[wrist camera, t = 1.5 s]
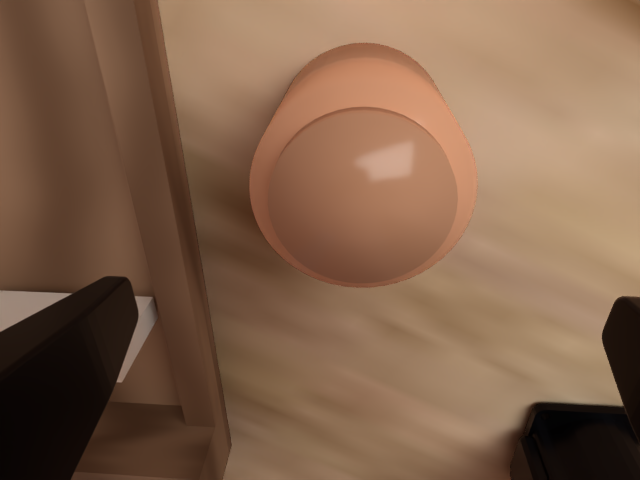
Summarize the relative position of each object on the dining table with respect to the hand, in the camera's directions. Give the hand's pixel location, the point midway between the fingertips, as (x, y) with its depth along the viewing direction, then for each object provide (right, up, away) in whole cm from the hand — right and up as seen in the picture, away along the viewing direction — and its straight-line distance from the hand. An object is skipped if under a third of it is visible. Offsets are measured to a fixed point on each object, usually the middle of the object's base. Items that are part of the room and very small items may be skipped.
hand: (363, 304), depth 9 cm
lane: (-12, 0, +12) cm, 17 cm away
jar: (+1, +5, +8) cm, 10 cm away
